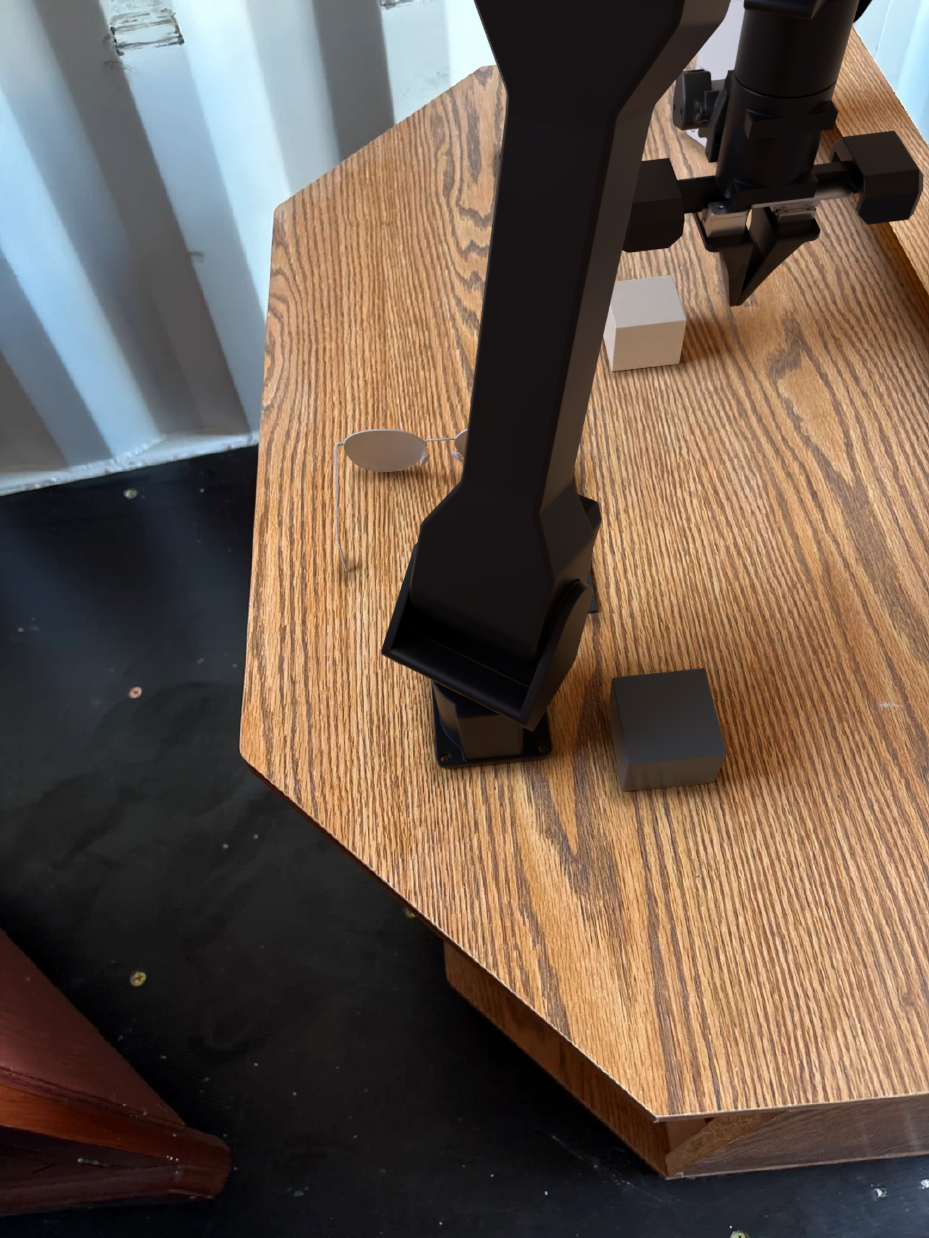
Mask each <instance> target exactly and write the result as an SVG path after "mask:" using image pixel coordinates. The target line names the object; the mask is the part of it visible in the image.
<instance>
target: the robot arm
mask: <svg viewBox="0 0 929 1238" xmlns="http://www.w3.org/2000/svg"><path fill="white" fill-rule="evenodd" d="M730 2H731V0H473V3H474V6H475V8H476V11H477V14H478V18H479V20H480V22H481V25H482V28H483V31H484V33H485V36H486V39H487V43H488V45H489V48H490V50H491V54H492V56H493V59H494V62H495V64H496V67H497V70H498V72H499V76H500V79H501V82H502V84H503V87H504V90H505V113H504V120H503V121H504V123H503V129H502V138H501V147H500V154H499V155H500V162H499V161H498V172H497V180H496V187H495V188H496V189H495V195H494V205H493V212H492V220H491V221H492V222H491V228H490V238H489V246H488V254H487V264H486V270H485V271H486V272H485V278H484V287H483V288H484V289H483V296H482V304H481V312H480V320H479V327H478V329H479V330H478V337H477V338H478V339H477V348H476V353H475V354H476V355H475V363H474V372H473V380H472V389H471V396H470V403H469V413H468V421H467V428H466V429H467V437H466V445H465V453H464V457H463V461H464V462H463V464H462V470H461V473H460V479H459V482H457V484H456V485H455V486H454V487H453V488H452V489H451V490H450V491H449V492H448V493H447V494H446V496H444V497H443V498H442V500H441V501H439V503H438V504H437V506H435V507H434V508H433V510H431V511H430V512H429V514H428V515H427V516H426V517H425V518H424V519H423V520H422V522H421V523H420V526H419V531H418V536H417V541H416V543H415V544H414V545H413V547H412V550H411V555H410V558H409V560H408V564H407V567H406V570H405V573H404V576H403V579H402V583H401V586H400V589H399V593H398V596H397V599H396V602H395V606H394V609H393V612H392V615H391V617H390V621H389V624H388V628H387V630H386V634H385V636H384V640H383V643H382V646H381V650H380V654H381V656H383V657H385V658H387V659H388V660H390V661H392V662H394V663H396V664H398V665H402V666H403V667H405V668H407V669H409V670H412V671H414V672H415V673H416V674H419V675H421V676H423V677H424V678H427V679H429V680H430V685H431V698H432V699H431V701H432V715H433V730H434V731H433V732H434V748H435V759H436V760H435V761H436V763H437V766H438V767H440V768H441V769H455V768H457V769H458V768H464V767H465V768H466V767H475V766H485V765H495V764H506V763H515V762H525V761H534V760H545V759H548V758H549V757H550V756H551V755H552V754H553V741H552V735H551V727H550V720H549V713H548V712H549V711H548V708H549V706H550V704H551V703H552V701H553V699H555V698H554V697H555V696H556V694H557V693H558V691H559V689H560V688H561V686H562V684H563V683H564V681H565V679H566V678H567V676H568V674H569V672H570V671H571V669H572V668H573V665H574V664H575V663H576V660H577V657H578V652H579V649H580V646H581V641H582V637H583V633H584V630H585V626H586V622H587V619H588V615H589V613H588V611H589V607H590V603H591V599H592V594H593V589H592V587H591V586H589V585H587V584H586V582H587V577H588V573H589V571H590V572H591V568H592V567H591V565H592V558H593V552H594V547H595V544H596V541H597V537H598V535H599V531H600V528H601V524H602V520H603V519H602V513H601V509H600V503H599V502H598V501H597V500H595V499H592V498H590V497H588V496H585V495H582V494H580V493H578V491H577V489H576V487H575V483H574V484H573V482H574V473H575V468H576V462H577V459H578V453H579V448H580V444H581V439H582V435H583V430H584V427H585V426H584V425H585V422H586V416H587V412H588V408H589V404H590V399H591V394H592V389H593V384H594V380H595V376H596V370H597V366H598V362H599V359H600V358H599V357H600V353H601V349H602V345H603V340H604V337H603V335H604V330H605V326H606V321H607V317H608V312H609V308H610V303H611V298H612V294H613V289H614V285H615V281H617V276H618V271H619V266H620V261H621V256H622V252H625V253H627V254H631V253H639V252H649V251H658V250H664V249H666V250H667V249H670V247H672V246H673V245H674V244H675V243H676V242H678V241H679V240H680V239H681V237H683V236H684V230H685V229H684V228H685V221H686V215H687V214H691V215H692V217H693V220H694V223H695V225H696V228H697V231H698V233H699V237H700V239H701V242H702V244H703V247H704V249H705V250H706V251H707V252H708V253H713V254H714V253H715V254H716V253H718V256H719V263H720V268H721V275H722V280H723V285H724V291H725V292H724V293H725V297H726V301H727V304H728V306H729V308H734V307H740V306H743V304H744V303H745V302H746V301H747V300H748V299H749V298H750V296H752V294H754V292H755V291H756V290H757V289H759V287H760V286H761V284H763V283H764V282H765V281H766V279H768V277H769V276H770V275H771V274H773V272H774V271H775V270H776V269H777V268H778V267H779V266H780V265H782V264H783V263H784V261H786V260H787V259H788V258H789V257H790V256H791V255H792V254H793V253H795V252H797V250H798V249H799V248H801V246H802V245H804V244H805V243H810V242H815V241H816V240H817V239H819V237H820V234H821V227H820V225H819V223H818V221H817V219H816V217H815V216H816V212H817V208H818V207H819V206H820V201H827V200H836V199H845V198H851V197H852V196H853V195H855V194H856V195H857V194H859V198H858V200H857V204H856V206H855V211H856V213H857V215H858V216H859V218H861V219H862V221H863V222H864V223H865V225H867V226H868V225H877V224H885V223H886V224H887V223H893V222H901V221H902V222H903V221H908V220H910V219H911V218H912V216H913V215H914V214H915V212H916V210H917V207H918V204H919V202H920V199H921V196H922V194H923V192H924V178H925V177H924V174H923V172H922V170H921V169H920V167H919V166H918V164H917V162H916V160H915V159H914V157H913V156H912V155H911V153H910V151H909V149H908V148H907V147H906V145H905V143H904V142H903V140H902V139H901V137H900V136H899V134H898V133H897V131H896V130H887V131H878V132H870V133H860V134H853V135H847V136H846V135H845V136H840V137H839V138H838V139H836V140H835V141H834V142H833V143H832V146H831V149H830V152H829V155H828V161H829V162H824V163H816V164H815V162H816V159H817V155H818V151H819V148H820V143H821V142H822V141H821V140H822V136H823V133H824V132H825V131H833V130H834V128H835V125H836V122H837V119H838V114H839V109H838V108H837V106H836V104H835V103H834V101H833V97H834V95H835V89H836V86H837V84H838V83H837V82H838V79H839V75H840V72H841V68H842V65H843V61H844V57H845V54H846V49H847V47H848V43H849V40H850V39H849V38H850V35H851V32H852V29H853V24H854V23H856V22H857V21H858V20H859V19H860V18H861V17H863V15H864V13H865V12H866V10H867V9H868V8H869V6H870V5H871V4H872V2H873V0H744V4H743V7H744V9H745V11H744V17H743V23H742V28H741V34H740V39H739V45H738V51H737V56H736V62H735V67H734V70H728V72H727V76H726V78H725V79H720V80H712V81H711V73H710V72H709V71H705V70H704V69H696V68H695V69H690V70H689V69H688V70H685V69H686V68H687V67H688V65H689V64H690V63H691V62H692V60H693V59H695V57H696V55H698V52H699V51H700V49H701V48H702V47H703V46H704V44H705V43H706V42H707V41H708V39H709V38H710V37H711V36H712V35H713V33H714V32H715V31H716V30H717V28H718V27H719V26H720V25H721V23H722V22H723V20H724V19H725V17H726V14H727V11H728V9H729V5H730ZM674 83H675V84H674ZM673 84H674V89H673V90H674V91H673V96H672V97H673V98H672V115H671V116H672V124H673V125H674V127H675V128H677V129H678V130H679V131H681V132H683V131H687V130H692V129H699V131H698V136H699V137H700V138H704V137H705V138H706V139H707V142H706V148H705V147H704V155H705V158H706V159H707V162H708V164H713V163H715V164H716V169H715V174H712V175H704V176H696V177H688V178H680V179H679V178H678V177H677V175H676V172H675V169H674V166H673V164H672V161H671V159H670V157H664V158H653V159H645V160H643V156H644V152H645V146H646V142H647V138H648V133H649V130H650V124H651V121H652V117H653V113H654V110H655V107H656V105H657V104H658V102H659V101H660V100H661V99H662V98H663V96H664V95H665V94H666V93H667V91H668V90H669V89H670V88H671V86H672V85H673ZM750 212H751V213H750ZM749 214H751V217H750V222H749V223H750V224H749V227H748V226H747V222H748V219H749ZM572 479H573V481H572ZM541 747H545V748H547V749H546V750H544V751H542V750H540V748H541ZM444 757H448V758H449V759H448V760H447V761H443V760H442V759H443V758H444Z"/></svg>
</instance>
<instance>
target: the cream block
mask: <svg viewBox="0 0 929 1238" xmlns="http://www.w3.org/2000/svg"><path fill="white" fill-rule="evenodd" d="M687 320H688V319H687V317H686V313H685V311H684V307H683V304H682V301H681V297H680V294H679V292H678V288H677V286H676V282H675V279H674V276H673V274H667V275H660V276H650V277H642V278H641V277H640V278H631V279H625V280H615V285H614V289H613V294H612V298H611V303H610V308H609V312H608V317H607V321H606V326H605V330H604V335H603V340H604V345H605V349H606V353H607V357H608V362H609V365H610V369H611V372H621V371H629V370H636V369H637V370H638V369H645V368H654V367H664V366H671V365H679V364H680V361H681V355H682V350H683V344H684V339H685V333H686V327H687Z"/></svg>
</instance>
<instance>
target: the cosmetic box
mask: <svg viewBox="0 0 929 1238" xmlns="http://www.w3.org/2000/svg"><path fill="white" fill-rule="evenodd" d="M743 4H744V0H731V2H730V5H729V9H728V11H727V14H726V17H725V19H724V20H723V22H722V23H721V25H720V26H719V27H718V28H717V30H716V31H715V32H714V33H713V35H712V36H711V37H710V38H709V39H708V41H707V42H706V43H705V44H704V46H703V47H702V48H701V49H700V51H699V52H698V53H697V57H696V65H695V70H696V69H704V70H705V71H709V72H710V73H711V81H712V80H720V79H725V78H726V76H727V72H728V70H734V67H735V62H736V56H737V51H738V45H739V39H740V34H741V28H742V23H743V17H744V11H745V9H744V7H743ZM685 131H686V134H687V136H689V137H690V138H692V139H693V140H695V141H696V142H698V143H699V144H700V145H701V146H702V147H704V149H705V148H706V142H707V139H706V138H705V137H704V138H700V137H699V136H698V131H699V129H692V130H685Z"/></svg>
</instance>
